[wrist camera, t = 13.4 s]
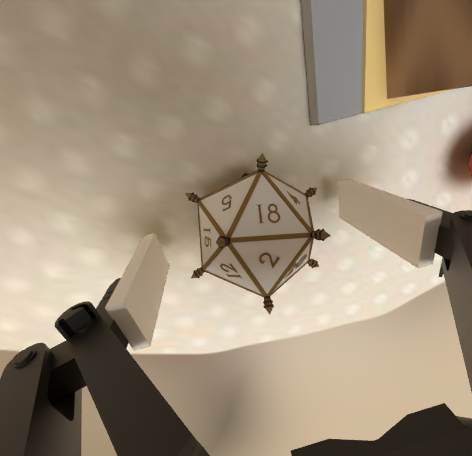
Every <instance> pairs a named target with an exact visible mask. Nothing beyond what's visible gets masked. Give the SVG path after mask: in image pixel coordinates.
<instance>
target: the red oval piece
mask: <svg viewBox="0 0 472 456" xmlns="http://www.w3.org/2000/svg"><path fill="white" fill-rule="evenodd" d="M469 169H470V173H471V176H472V153H471V158H470V164H469Z"/></svg>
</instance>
